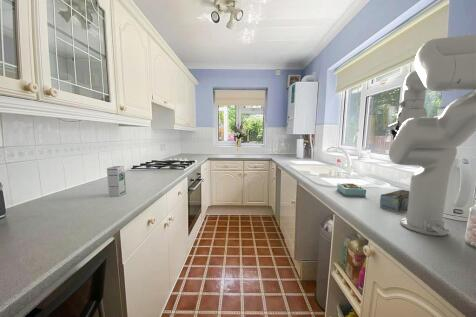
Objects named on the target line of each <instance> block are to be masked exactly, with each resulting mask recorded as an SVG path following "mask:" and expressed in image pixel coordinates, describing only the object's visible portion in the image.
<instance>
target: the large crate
mask: <svg viewBox="0 0 476 317" xmlns="http://www.w3.org/2000/svg"><path fill="white" fill-rule="evenodd" d="M355 184H356V183H355ZM356 185H358V186H359V187H360V189H350V188H345V187H343V183H337V184H336V186H337V187H336V190H337V192H339V193H340V194H341V195H343V197H360V198H362V197H363V198H366V197H367V189H366V188H364V187H362V186H361V185H359V184H358V183H357V184H356Z"/></svg>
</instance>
